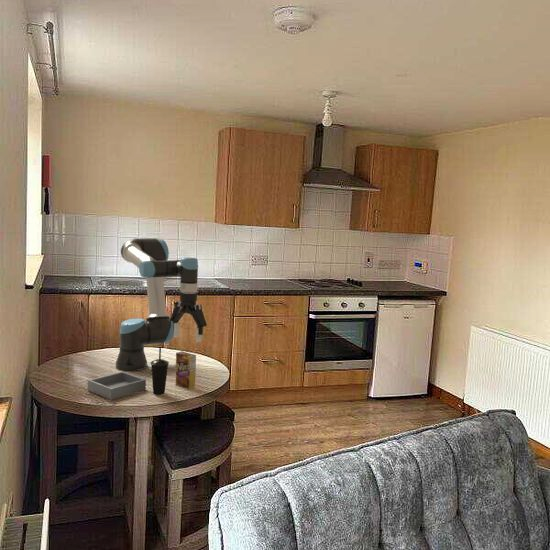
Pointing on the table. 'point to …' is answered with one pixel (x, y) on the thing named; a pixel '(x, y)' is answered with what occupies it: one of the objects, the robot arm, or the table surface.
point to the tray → (116, 385)
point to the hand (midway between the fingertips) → (187, 339)
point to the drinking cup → (159, 374)
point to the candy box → (185, 370)
